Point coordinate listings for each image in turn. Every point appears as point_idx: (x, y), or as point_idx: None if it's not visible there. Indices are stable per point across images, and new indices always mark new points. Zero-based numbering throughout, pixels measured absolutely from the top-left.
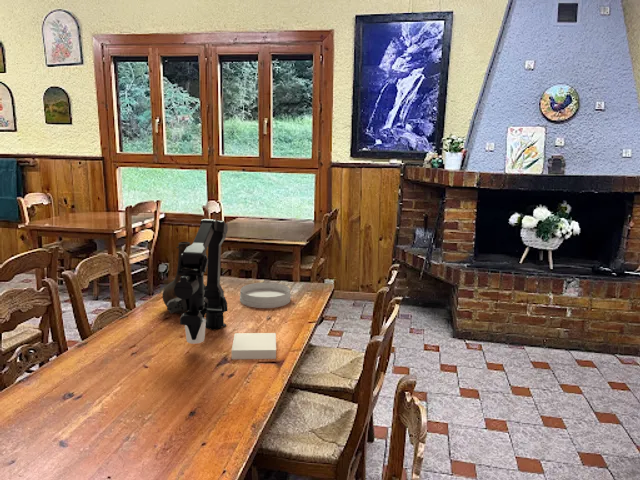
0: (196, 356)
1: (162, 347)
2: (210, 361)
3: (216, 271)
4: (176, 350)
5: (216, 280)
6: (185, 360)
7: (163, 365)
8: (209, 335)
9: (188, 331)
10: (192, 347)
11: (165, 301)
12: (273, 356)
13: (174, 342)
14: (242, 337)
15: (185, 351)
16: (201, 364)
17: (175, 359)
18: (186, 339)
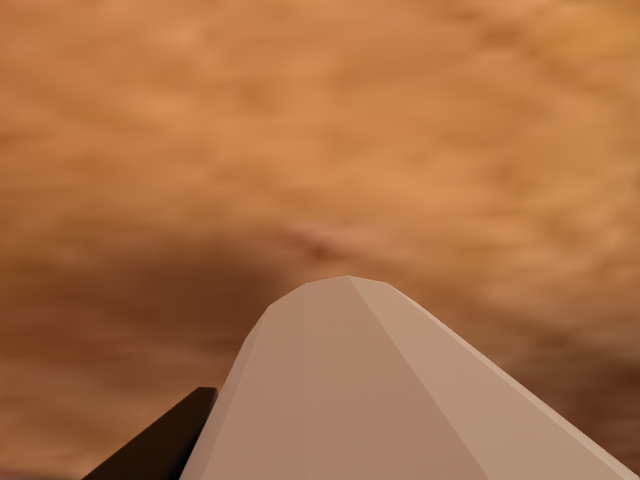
0: (223, 326)
1: (468, 2)
2: (119, 433)
3: None
4: (372, 149)
5: None
6: (147, 243)
7: (39, 43)
8: (617, 396)
9: (216, 420)
10: (411, 283)
11: None
12: None
13: (557, 117)
14: None
15: (338, 231)
16: (63, 373)
17: (173, 153)
18: (331, 283)
